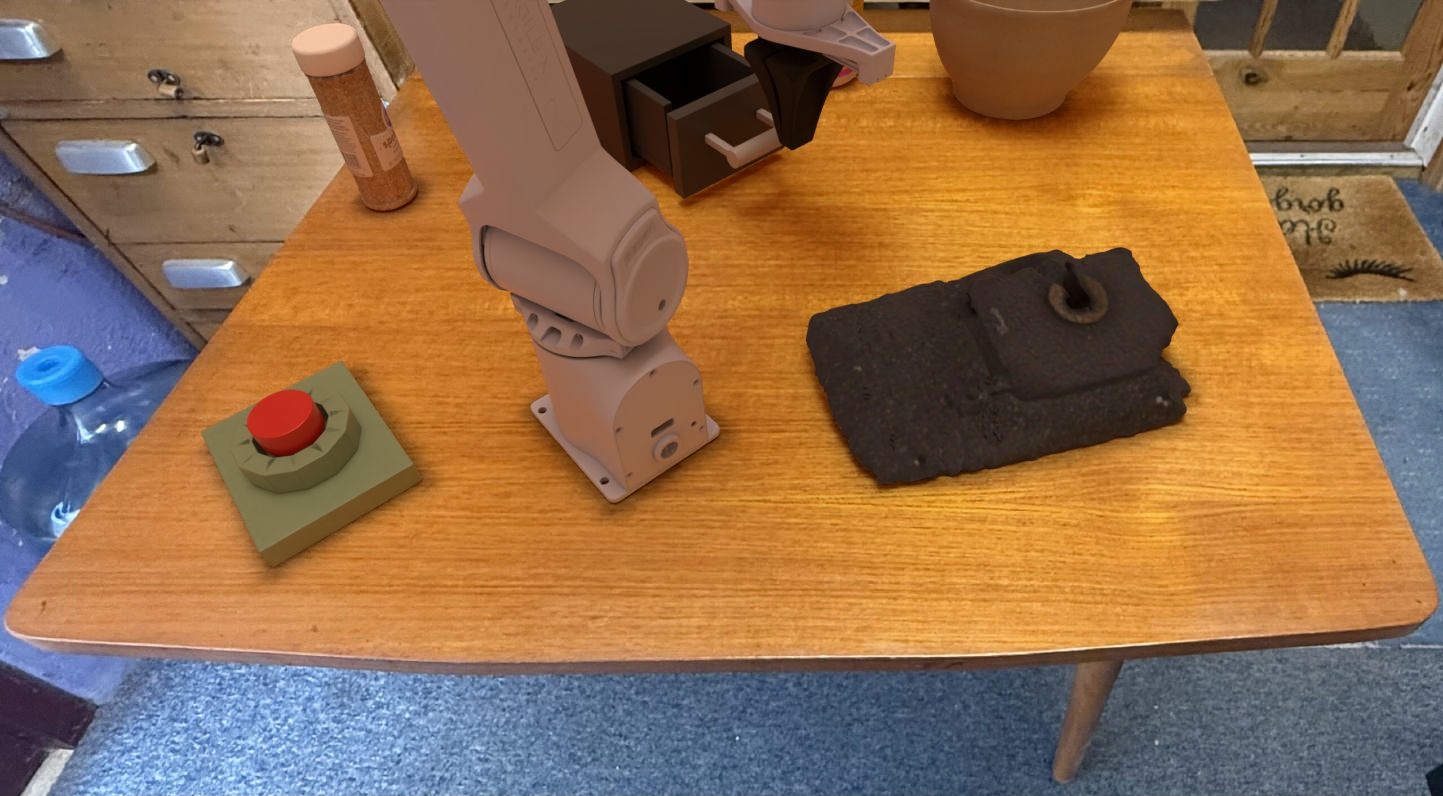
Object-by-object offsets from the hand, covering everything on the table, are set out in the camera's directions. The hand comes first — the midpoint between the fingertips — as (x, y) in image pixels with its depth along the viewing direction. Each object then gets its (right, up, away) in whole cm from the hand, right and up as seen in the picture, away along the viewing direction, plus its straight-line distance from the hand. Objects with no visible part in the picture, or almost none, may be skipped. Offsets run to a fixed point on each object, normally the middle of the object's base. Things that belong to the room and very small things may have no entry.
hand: (796, 141), depth 58 cm
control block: (-30, -22, -8) cm, 38 cm away
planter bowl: (+20, +9, +16) cm, 27 cm away
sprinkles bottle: (-32, -1, +10) cm, 34 cm away
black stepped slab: (+11, -16, -5) cm, 20 cm away
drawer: (-7, +2, +10) cm, 13 cm away
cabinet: (-13, +7, +16) cm, 22 cm away
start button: (-30, -20, -10) cm, 37 cm away
